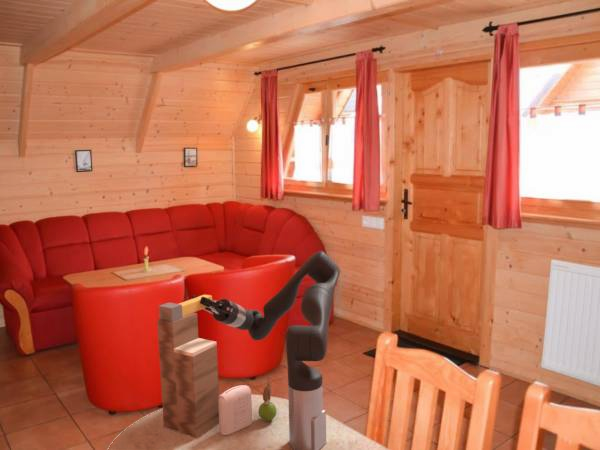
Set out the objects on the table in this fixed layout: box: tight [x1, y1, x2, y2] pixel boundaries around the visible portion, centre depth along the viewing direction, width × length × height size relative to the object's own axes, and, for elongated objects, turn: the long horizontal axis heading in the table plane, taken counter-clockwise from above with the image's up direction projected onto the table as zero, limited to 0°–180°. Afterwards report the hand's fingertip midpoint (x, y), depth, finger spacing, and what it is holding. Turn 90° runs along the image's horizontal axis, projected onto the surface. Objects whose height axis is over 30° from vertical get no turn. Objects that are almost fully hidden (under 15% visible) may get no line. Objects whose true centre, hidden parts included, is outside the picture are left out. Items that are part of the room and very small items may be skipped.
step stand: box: [156, 312, 220, 439], centre depth 157 cm, size 13×10×32 cm
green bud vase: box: [258, 376, 278, 422], centre depth 161 cm, size 5×6×12 cm
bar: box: [158, 294, 213, 322], centre depth 160 cm, size 5×18×4 cm, turn 148°
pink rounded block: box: [218, 384, 253, 436], centre depth 156 cm, size 10×4×12 cm, turn 134°
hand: (197, 299), depth 164 cm, fingers closed on bar, 3 cm apart
